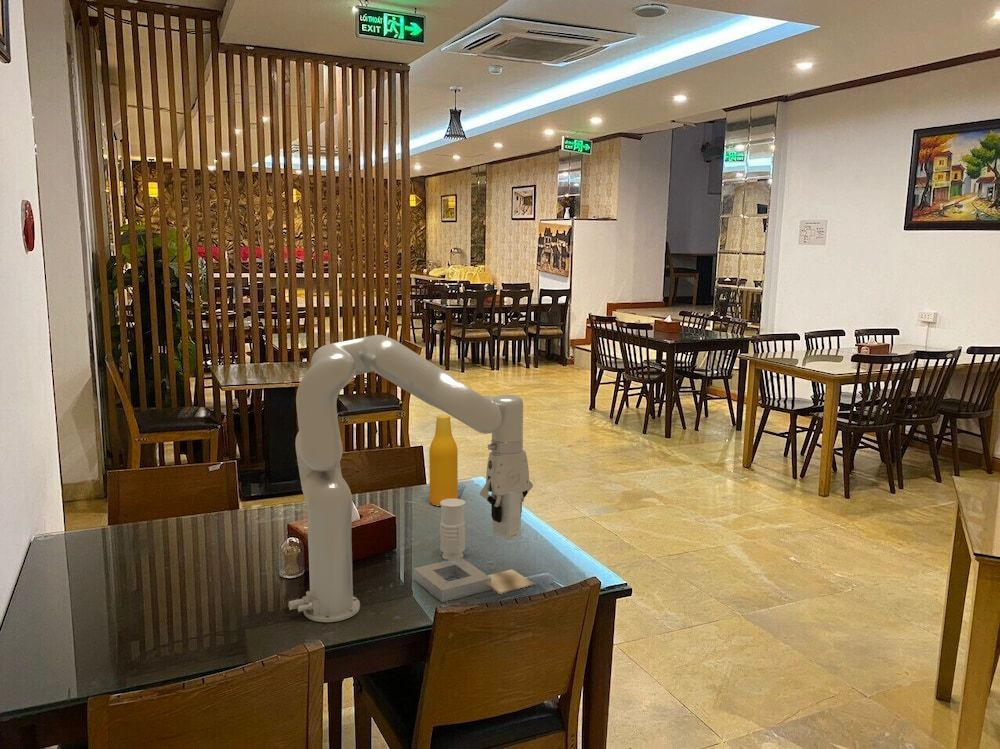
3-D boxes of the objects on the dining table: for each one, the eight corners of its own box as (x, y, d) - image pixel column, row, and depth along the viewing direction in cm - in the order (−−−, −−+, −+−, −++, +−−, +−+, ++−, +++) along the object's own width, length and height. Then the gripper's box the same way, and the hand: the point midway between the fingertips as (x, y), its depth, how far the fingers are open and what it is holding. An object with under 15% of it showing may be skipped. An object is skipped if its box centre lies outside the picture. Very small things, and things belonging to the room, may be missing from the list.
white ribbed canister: (450, 563, 201) (450, 508, 199) (434, 555, 206) (434, 501, 204) (470, 556, 206) (470, 502, 203) (455, 549, 211) (454, 496, 209)
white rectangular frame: (441, 602, 178) (441, 590, 178) (413, 579, 191) (413, 568, 190) (491, 589, 185) (491, 577, 185) (460, 568, 198) (460, 557, 197)
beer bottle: (426, 506, 246) (425, 418, 242) (433, 497, 256) (433, 413, 251) (454, 508, 245) (454, 420, 241) (460, 499, 254) (460, 414, 250)
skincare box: (521, 536, 187) (521, 489, 185) (509, 540, 184) (509, 492, 182) (503, 530, 191) (503, 483, 189) (491, 534, 188) (491, 487, 186)
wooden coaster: (499, 594, 182) (499, 592, 182) (478, 579, 191) (478, 577, 191) (534, 585, 188) (534, 583, 188) (511, 571, 196) (511, 569, 196)
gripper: (484, 454, 176) (484, 529, 179) (545, 445, 185) (543, 517, 188) (468, 447, 183) (468, 520, 185) (527, 439, 192) (526, 508, 194)
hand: (506, 518), depth 187 cm, fingers closed on skincare box, 5 cm apart
